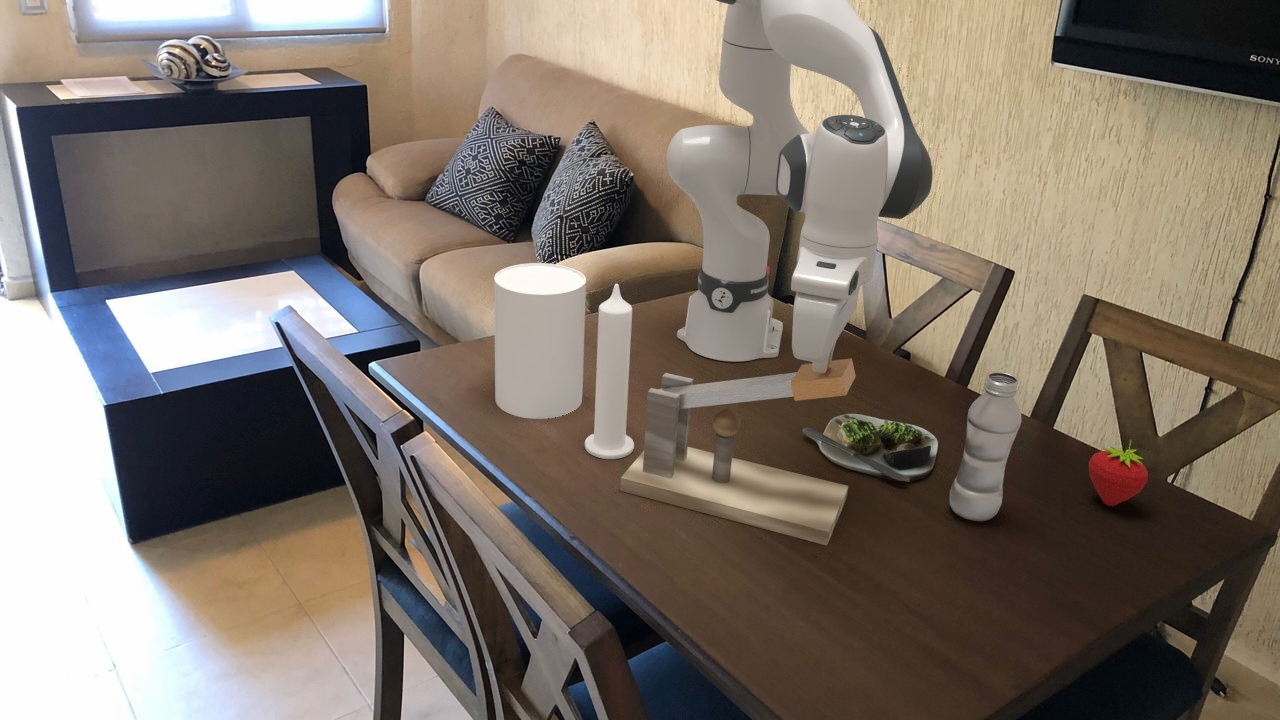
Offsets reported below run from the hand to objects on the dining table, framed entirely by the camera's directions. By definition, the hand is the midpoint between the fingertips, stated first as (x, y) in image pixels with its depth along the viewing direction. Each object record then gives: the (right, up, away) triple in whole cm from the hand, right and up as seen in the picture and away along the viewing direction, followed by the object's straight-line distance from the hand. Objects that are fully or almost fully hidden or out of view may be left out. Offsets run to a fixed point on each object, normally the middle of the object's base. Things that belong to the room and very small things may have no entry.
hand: (821, 368), depth 123 cm
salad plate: (+13, -13, +25) cm, 31 cm away
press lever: (-8, -4, +5) cm, 10 cm away
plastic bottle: (+22, -20, +11) cm, 31 cm away
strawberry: (+42, -19, +15) cm, 48 cm away
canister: (-38, -5, +35) cm, 52 cm away
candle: (-27, -12, +22) cm, 36 cm away
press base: (-10, -17, +12) cm, 23 cm away
